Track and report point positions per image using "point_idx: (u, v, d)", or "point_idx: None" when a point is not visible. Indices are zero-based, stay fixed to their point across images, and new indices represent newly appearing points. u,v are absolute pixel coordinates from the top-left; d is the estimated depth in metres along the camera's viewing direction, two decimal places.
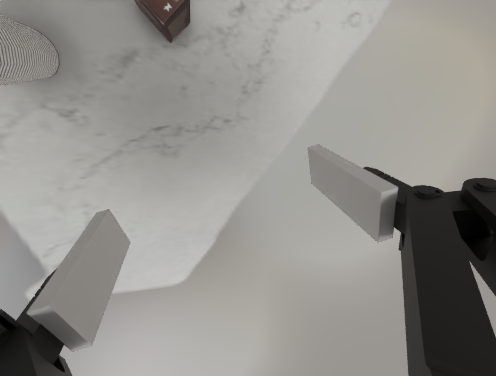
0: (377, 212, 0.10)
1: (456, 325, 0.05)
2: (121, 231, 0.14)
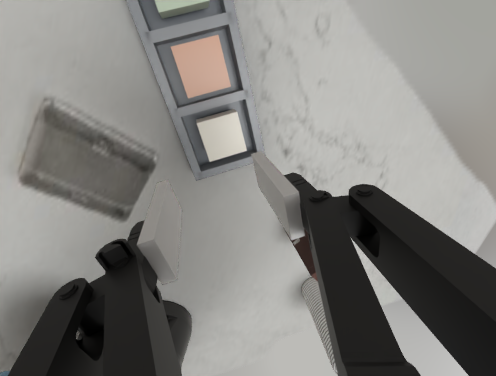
0: (286, 213, 0.11)
1: (357, 312, 0.05)
2: (176, 200, 0.16)
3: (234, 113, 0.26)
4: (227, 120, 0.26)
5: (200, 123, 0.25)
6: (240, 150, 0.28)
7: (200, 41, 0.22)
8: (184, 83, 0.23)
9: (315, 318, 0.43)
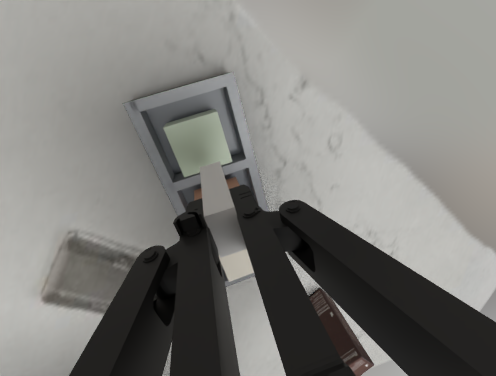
0: None
1: (297, 324, 0.06)
2: None
3: None
4: None
5: None
6: None
7: None
8: None
9: None
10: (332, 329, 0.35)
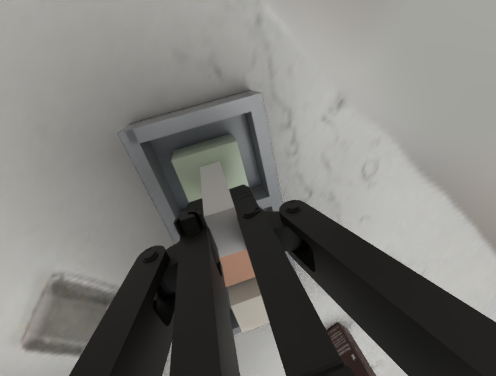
0: None
1: (297, 324, 0.06)
2: None
3: None
4: None
5: (235, 305, 0.22)
6: None
7: None
8: None
9: None
10: None
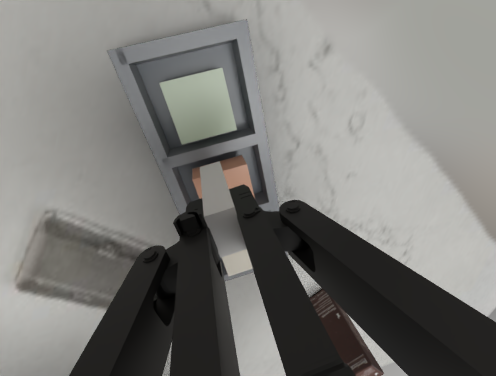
0: None
1: (297, 324, 0.06)
2: None
3: None
4: None
5: None
6: None
7: (226, 172, 0.19)
8: None
9: None
10: (338, 332, 0.32)
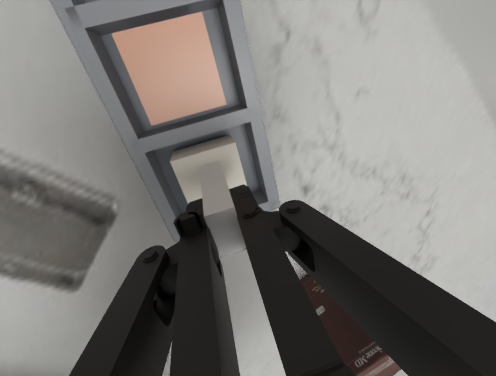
0: None
1: (297, 324, 0.06)
2: None
3: (231, 144, 0.16)
4: (219, 155, 0.16)
5: (176, 161, 0.16)
6: None
7: (168, 24, 0.12)
8: (143, 100, 0.13)
9: None
10: None
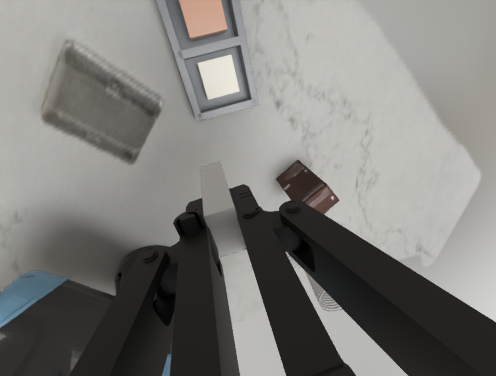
0: None
1: (297, 324, 0.06)
2: None
3: (229, 55, 0.31)
4: (223, 61, 0.31)
5: (200, 63, 0.30)
6: (234, 90, 0.33)
7: None
8: (187, 23, 0.27)
9: None
10: (304, 179, 0.39)
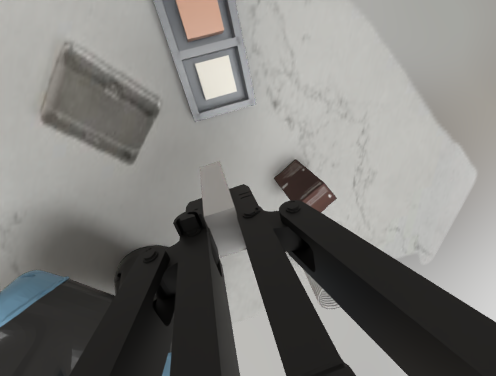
0: None
1: (297, 324, 0.06)
2: None
3: (226, 56, 0.31)
4: (220, 62, 0.31)
5: (198, 64, 0.31)
6: (231, 90, 0.33)
7: None
8: (184, 25, 0.28)
9: None
10: (302, 178, 0.39)
